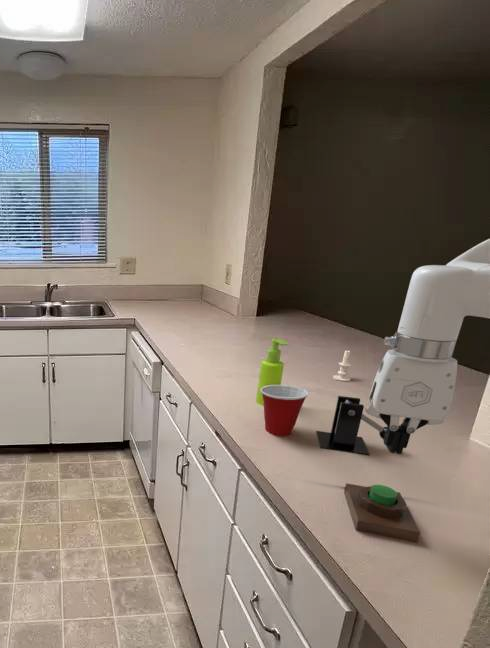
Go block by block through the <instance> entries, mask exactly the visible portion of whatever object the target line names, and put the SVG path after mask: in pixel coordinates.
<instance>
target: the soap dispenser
mask: <svg viewBox="0 0 490 648" xmlns="http://www.w3.org/2000/svg"><path fill="white" fill-rule="evenodd" d="M269 341H270V342H272V343H271V348H269V349H267V354H266V359H263V360H261V361H260V362H261V363H260V368H259V369H260V370H259V377H258V384H257V385H258V386H257V392H256V398H255V403H257V404H258V405H261V406H263V407H264V401H263V397H262V393H261V392H260V389H261V388H262V387H264V386H269V385H282V378H283V372H284V366H285V363H284V362H282V361H281V354H282V351H281V349H279V345H280V346H288V345H289V343H288V342H287V341H286V340H284V339H282V338H277V337H272V338H269Z"/></svg>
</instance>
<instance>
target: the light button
mask: <svg viewBox="0 0 490 648" xmlns="http://www.w3.org/2000/svg"><path fill="white" fill-rule="evenodd" d="M397 492H398V491H396V490H395V489H393V488H392V487H389V486H387V485H383V484H373V485H371V489H370V493H369V497H370V498H371V499H372V500H373V501H376V502H378V503H380V504H384V505H394V504H395V503H396V499H397V496H398V494H397Z"/></svg>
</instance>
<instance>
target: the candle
mask: <svg viewBox="0 0 490 648" xmlns="http://www.w3.org/2000/svg"><path fill="white" fill-rule="evenodd" d="M350 356H351V351H350V350H349V349H347V350H345V351H344V354H343V358H342V361H341V362H338V365H339V366H340V368H339V370H338V371H337V374H334V375H333V376H332V378H333V380H335V381H338V382H344V383H345V382H347V383H348V382H351V380H352V378H351V377H349V376H347V375H349V374H350V373H349V372H348V369H349V367H351V366H352V364H351V363H350V362H349V361H350Z"/></svg>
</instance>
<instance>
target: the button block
mask: <svg viewBox="0 0 490 648" xmlns="http://www.w3.org/2000/svg"><path fill="white" fill-rule="evenodd" d="M371 486H372V485H371ZM371 486H364V485H357V484H352V483H347V482H346V483H345V487H344V491H343V493H344V494H343V495H344V497H345V498H344V499H345V500H346V504H347V507H348V510H349V514H350V517H351V520H352V524H353V526H354V530H355V532H360V533H361V532H362V533H366V534H371V535H376V536H380V537H386V538H390V539H396V540H401V541H406V542H410V543H415V544H418V541H419V538H420V536H421V531H420V529H419V526H418V525H417V523H416V521H415V519H414V517H413V515H412V514H411V511H410V509H409V508H408V507H409V506H407V503H406V500H405V499H404V498H403V496H402V494H401V492H398V491H396V492H397V494H398V496H397V499H396V503H395V504H394V505H384V504H380V503H378V502H376V501H373V500H372V499H371V498H370V497H369V493H370V489H371Z"/></svg>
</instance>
